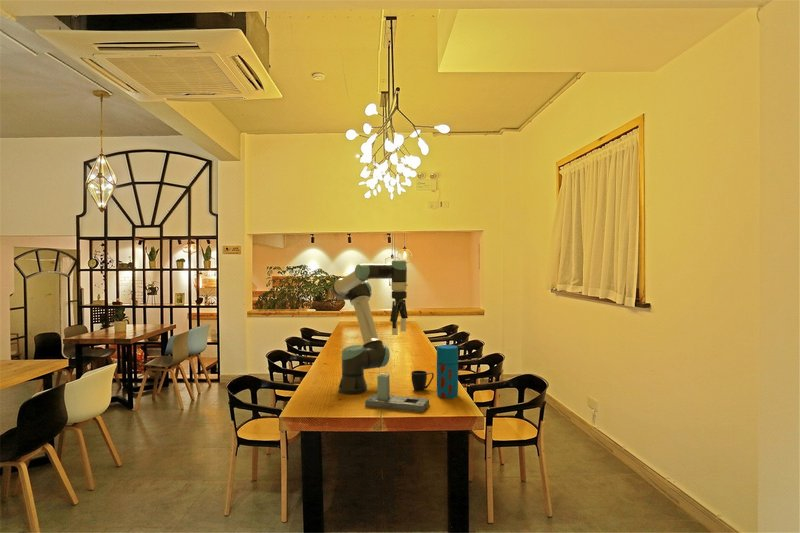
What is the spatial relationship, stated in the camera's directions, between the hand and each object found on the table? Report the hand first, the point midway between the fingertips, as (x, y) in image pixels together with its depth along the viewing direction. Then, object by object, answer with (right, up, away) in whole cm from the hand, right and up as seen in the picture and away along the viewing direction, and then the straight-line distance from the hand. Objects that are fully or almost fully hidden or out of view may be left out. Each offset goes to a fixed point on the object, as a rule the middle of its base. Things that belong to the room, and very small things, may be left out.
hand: (399, 333), depth 226 cm
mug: (+13, -33, +16) cm, 39 cm away
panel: (-1, -33, -12) cm, 35 cm away
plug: (-8, -33, -10) cm, 35 cm away
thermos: (+25, -33, +5) cm, 41 cm away
